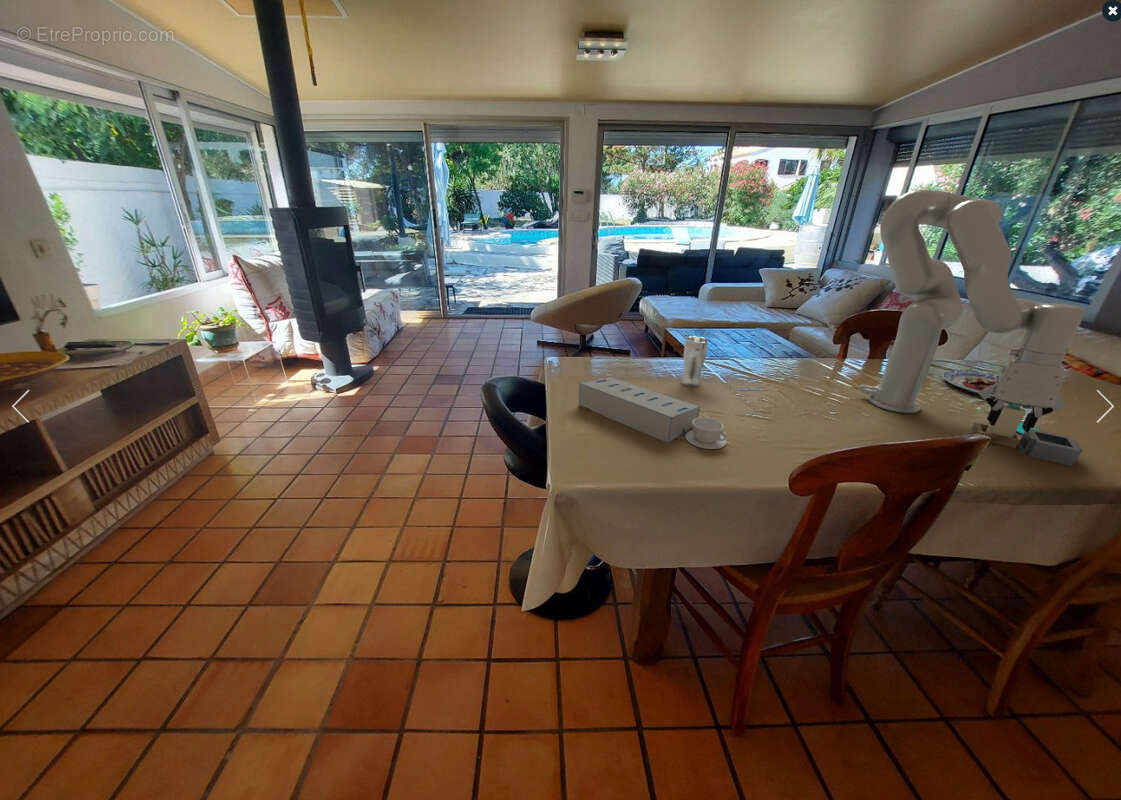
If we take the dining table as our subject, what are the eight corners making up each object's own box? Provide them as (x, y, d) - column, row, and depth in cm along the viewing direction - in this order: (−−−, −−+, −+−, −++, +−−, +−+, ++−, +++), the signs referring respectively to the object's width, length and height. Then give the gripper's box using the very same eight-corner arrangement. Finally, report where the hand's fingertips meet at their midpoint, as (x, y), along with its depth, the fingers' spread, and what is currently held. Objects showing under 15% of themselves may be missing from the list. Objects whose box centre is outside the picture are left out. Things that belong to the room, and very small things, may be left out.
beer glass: (703, 381, 141) (711, 338, 135) (697, 388, 136) (705, 343, 130) (683, 377, 145) (689, 335, 138) (676, 383, 139) (683, 340, 133)
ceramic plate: (1067, 413, 124) (1072, 403, 122) (958, 398, 132) (962, 389, 131) (1019, 382, 145) (1023, 374, 144) (928, 371, 154) (931, 364, 153)
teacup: (677, 440, 106) (679, 423, 104) (696, 427, 112) (699, 411, 110) (714, 455, 99) (718, 438, 98) (733, 440, 106) (736, 424, 104)
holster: (975, 438, 108) (978, 431, 107) (971, 427, 114) (974, 421, 113) (1015, 448, 104) (1019, 440, 103) (1009, 436, 110) (1013, 429, 109)
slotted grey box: (696, 425, 113) (701, 400, 110) (668, 444, 104) (672, 417, 101) (609, 393, 133) (610, 370, 129) (578, 407, 123) (579, 383, 120)
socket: (1024, 455, 101) (1032, 440, 99) (1016, 441, 107) (1024, 427, 106) (1076, 467, 96) (1085, 452, 95) (1065, 451, 103) (1073, 437, 101)
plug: (987, 439, 108) (1006, 401, 103) (984, 433, 111) (1003, 396, 106) (1008, 443, 106) (1029, 406, 101) (1005, 437, 109) (1025, 400, 104)
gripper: (992, 355, 101) (964, 423, 108) (1099, 368, 92) (1062, 441, 99) (986, 348, 106) (960, 413, 113) (1087, 359, 97) (1052, 429, 104)
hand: (1008, 425), depth 106 cm, fingers open, 5 cm apart
